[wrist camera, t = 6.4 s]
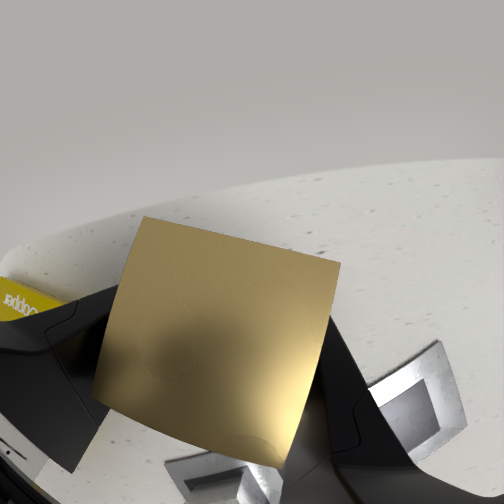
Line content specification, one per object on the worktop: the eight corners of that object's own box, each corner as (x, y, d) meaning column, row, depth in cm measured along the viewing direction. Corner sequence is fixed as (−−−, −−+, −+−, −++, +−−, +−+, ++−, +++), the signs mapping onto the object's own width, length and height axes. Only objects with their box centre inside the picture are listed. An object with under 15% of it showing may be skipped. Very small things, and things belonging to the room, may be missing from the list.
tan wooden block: (277, 388, 14) (282, 469, 4) (198, 365, 15) (90, 396, 5) (299, 309, 15) (340, 262, 6) (220, 289, 16) (143, 215, 6)
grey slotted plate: (215, 536, 16) (214, 539, 15) (165, 462, 19) (163, 465, 18) (464, 424, 17) (468, 425, 16) (438, 340, 20) (441, 340, 19)
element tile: (101, 313, 23) (70, 307, 19) (86, 448, 19) (58, 461, 15) (16, 280, 25) (-11, 270, 21) (4, 390, 21) (-22, 392, 17)
